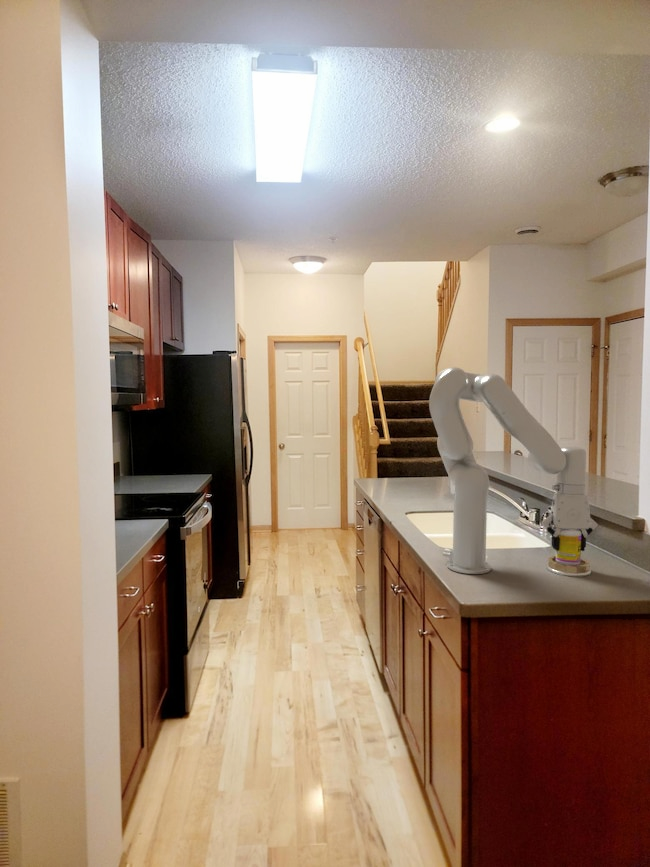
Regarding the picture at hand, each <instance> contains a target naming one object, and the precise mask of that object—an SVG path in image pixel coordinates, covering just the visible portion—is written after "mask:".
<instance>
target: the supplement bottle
mask: <svg viewBox="0 0 650 867" xmlns="http://www.w3.org/2000/svg"><path fill="white" fill-rule="evenodd" d="M558 537H559V538H560V540H559V550H558V551H556V550H555V556H556V561H557V562H558V563H560V564H564V565H573V566H576V565H579V564H580V558H581V552H582V551H581V531H580V530H579V529H561V530H560V532H559V534H558Z"/></svg>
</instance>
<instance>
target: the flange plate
mask: <svg viewBox="0 0 650 867" xmlns="http://www.w3.org/2000/svg"><path fill="white" fill-rule="evenodd" d="M546 567H547V568H546V569H547V571H549V572H550V573H552V574H556V575H559V576H563V577H573V578H577V577H579V578H582V577H588V576H590V575H591V574H592V569H591V563H590V562H589V560H586V559H585V558H581V557H580V564H579V565H576V566H573V565H564V564H560V563H558V562H557V561H556V555H551V556H550V557H547V564H546Z"/></svg>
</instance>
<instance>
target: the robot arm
mask: <svg viewBox="0 0 650 867" xmlns="http://www.w3.org/2000/svg"><path fill="white" fill-rule="evenodd" d="M434 379H435V380H434V385H433V386H432V389H431V392H430V394H429V401H428V406H429V413H430V417H431V419H432V422H433V426H434V428H435V430H436V433H437V436H438V437H437V440H436V445H437V450H438V452H439V455H440V458H441V460H442V463H443V465H444V468H445V471H446V473H447V475H448V478H449V480H450V482H451V483H452V485H453V486H454V497H453V509H452V510H453V515H452V516H453V518H452V519H453V523H452V524H453V525H452V526H453V528H452V530H453V531H452V532H453V533H452V549H449V548H444V550H443V552H442V556H443V557H446V558H447V557H448V558H449V560H448V561H447V563H446V566H447V567H448V569H449V570H451V571H454V572H457V573H460V574H467V575H481V574H486V573H489V572H491V570H492V565H491V563H489V562H487V560H486V556H487V519H488V518H487V517H488V516H487V515H488V514H487V513H488V512H487V510H488V508H487V507H488V499H489V498H488V496H489V490H490V478H489V474H488V472H487V471H486V469H485V468H484V467H483V466H482V465H480V464H479V463H477V461H476V458H475V456H474V453H473V450H474V441H473V439H472V436H471V434H470V432H469V429H468V427H467V425H466V422H465V419H464V418H463V417H464V416H463V413H462V410H461V407H460V400H463V401H464V400H465V401H468V402H478V403H483V404H484V405H485V406H486V408H487V409H488V410H489V412H490V413H491V414H492V415H493V417H494V419H495V420H496V421H497V422H498V424H499V425H500V427H501V428H502V429H504V431H505V432H507V434H508V435H510V436H511V437H512V438H514V439H516V440H517V441H518V442H519V443H521V445H522V446H523V447H524V448H526V450H527V451H528V455H527V460H528V463H529V465H530V466H531V467H532V468H533V469H535V470H537V471H540V472H542V473H544V474H548V475H556V483H555V484H552V485H551V489H552V490H555V492H554V493H553V497H552V502H551V507H550V514H549V515H548V516H547V517H546V518H545V519H544V520H541V525H542V526H543V527H544V528H545V529H546V531H547V532H548V533H549V534H550V535H551V542H550V543H551V545H550V546H551V547H552V549H553V550H555V552H556V551H558V550H559V540H560V538H559V537H558V534H559V532H560V530H561V529H579V530H580V531H581V552H585V550H586V546H587V538H588V537H589V535H590V534H591V533H592V532H593V531H594V530H595V529H596V528H597V527H598V525H599V524H598V523H597V522H596V521H595V520H594V519H593V518H592V517H591V509H590V500H589V496H588V494H586V470H587V469H586V468H587V466H586V464H587V452H586V449H584V448H583V447H576V446H575V447H574V446H563V447H561V446H559V444H558V443H557V441H556V440H555V438H554V437H553V436H552V435H551V434H550V433H549V431H548V430H546V429H545V427H544V426H543V425H542V424H541V423H540V422H539V421H538V420H537V419H536V418H535V417H534V415H532V414H531V413H530V411H529V410H528V409H527V408H526V407H525V405H524V404H523V403H522V401H521V400H520V399H519V397H518V396H517V395H516V394H515V392H514V391H513V390H512V388H511V386H509V384H508V383H507V382H506V380H505V379H504V378H503V377H502V376H500V375H499V374H495V373H489V374H479V373H471V372H466V371H464V370H463V369H462V368H460V367H456V366H453V367H452V366H451V367H447V368H445V369H443V370H441V371H439V373H437V375H436V376H435V378H434ZM549 524H551V525H552V527H551V526H550V525H549Z"/></svg>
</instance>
